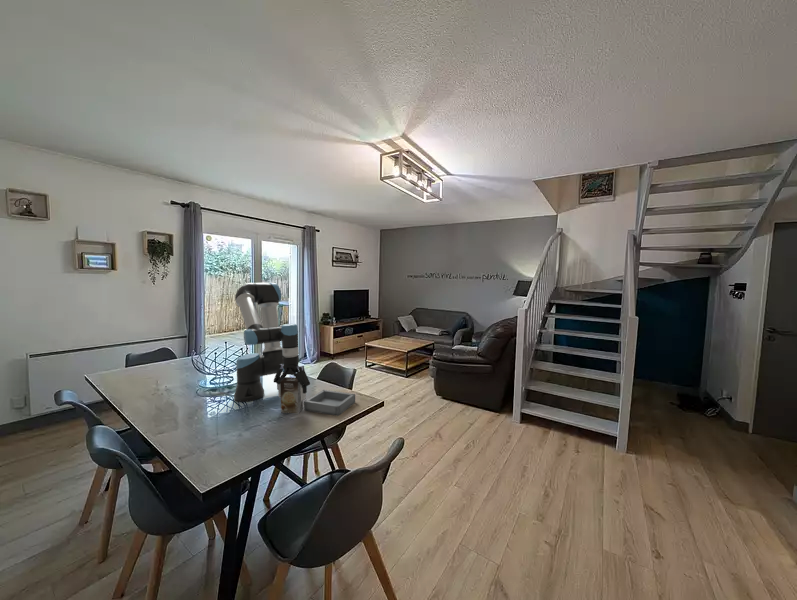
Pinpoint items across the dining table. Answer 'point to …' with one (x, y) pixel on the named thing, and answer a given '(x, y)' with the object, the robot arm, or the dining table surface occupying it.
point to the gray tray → (329, 402)
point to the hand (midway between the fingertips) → (292, 398)
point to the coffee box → (291, 395)
